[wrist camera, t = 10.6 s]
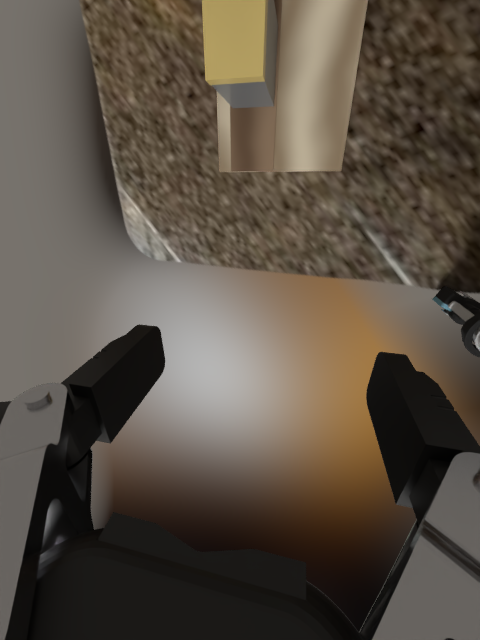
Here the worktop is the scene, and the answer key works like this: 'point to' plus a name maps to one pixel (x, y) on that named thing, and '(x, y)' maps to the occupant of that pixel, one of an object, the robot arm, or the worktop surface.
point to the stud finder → (241, 50)
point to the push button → (462, 316)
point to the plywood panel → (300, 93)
